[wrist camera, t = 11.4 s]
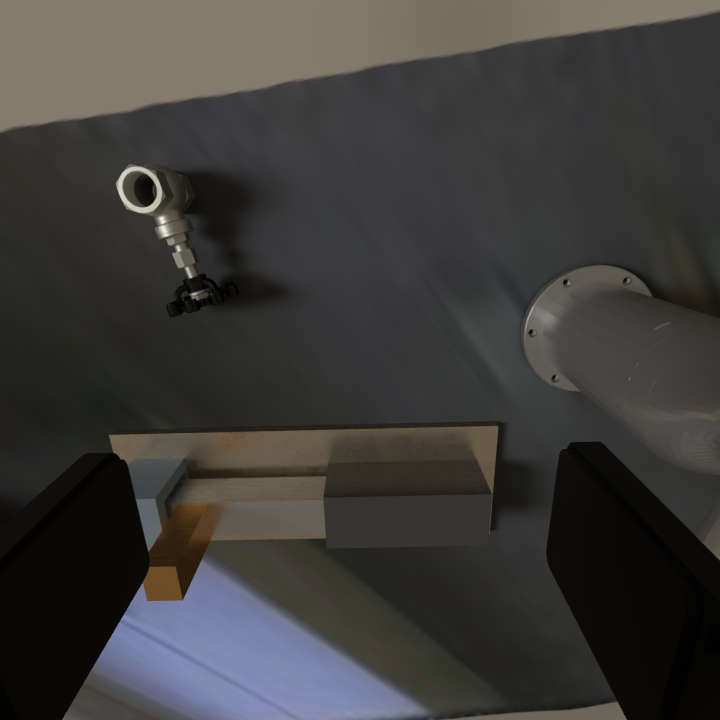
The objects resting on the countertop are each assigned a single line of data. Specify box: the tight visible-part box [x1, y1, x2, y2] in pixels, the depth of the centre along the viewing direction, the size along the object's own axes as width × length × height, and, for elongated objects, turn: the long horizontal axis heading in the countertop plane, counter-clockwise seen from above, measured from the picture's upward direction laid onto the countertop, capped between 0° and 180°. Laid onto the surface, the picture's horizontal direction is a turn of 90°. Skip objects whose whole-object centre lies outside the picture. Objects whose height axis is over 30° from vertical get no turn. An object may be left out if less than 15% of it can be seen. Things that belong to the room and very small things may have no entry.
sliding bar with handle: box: [143, 476, 326, 601], centre depth 42 cm, size 23×4×12 cm, turn 92°
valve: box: [116, 164, 239, 317], centre depth 38 cm, size 7×7×12 cm
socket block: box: [128, 458, 188, 552], centre depth 46 cm, size 6×8×7 cm
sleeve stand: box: [109, 422, 498, 548], centre depth 46 cm, size 41×14×7 cm, turn 92°
